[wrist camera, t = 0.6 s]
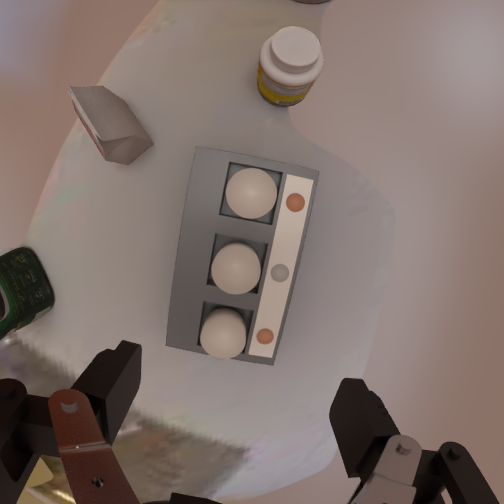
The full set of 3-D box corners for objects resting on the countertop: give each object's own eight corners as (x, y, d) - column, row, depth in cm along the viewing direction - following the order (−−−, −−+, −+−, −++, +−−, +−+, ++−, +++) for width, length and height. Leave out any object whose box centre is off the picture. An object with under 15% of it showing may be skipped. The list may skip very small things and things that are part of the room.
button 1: (207, 304, 32) (203, 315, 29) (249, 312, 32) (249, 323, 29) (201, 341, 32) (197, 354, 29) (241, 348, 33) (241, 362, 30)
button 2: (232, 166, 29) (231, 163, 26) (277, 175, 29) (281, 173, 26) (223, 211, 30) (221, 213, 27) (268, 220, 30) (271, 223, 27)
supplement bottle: (280, 54, 29) (292, 7, 19) (317, 85, 30) (344, 48, 20) (245, 85, 30) (245, 44, 20) (284, 118, 31) (300, 88, 21)
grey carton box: (124, 100, 30) (84, 72, 20) (153, 143, 31) (118, 126, 21) (99, 121, 30) (53, 101, 20) (128, 164, 31) (85, 156, 21)
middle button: (218, 237, 30) (216, 242, 27) (263, 246, 30) (265, 252, 28) (211, 280, 31) (207, 289, 28) (254, 288, 31) (255, 298, 28)
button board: (200, 150, 31) (195, 146, 28) (312, 172, 32) (320, 171, 29) (171, 333, 35) (164, 346, 32) (271, 352, 36) (273, 366, 32)
